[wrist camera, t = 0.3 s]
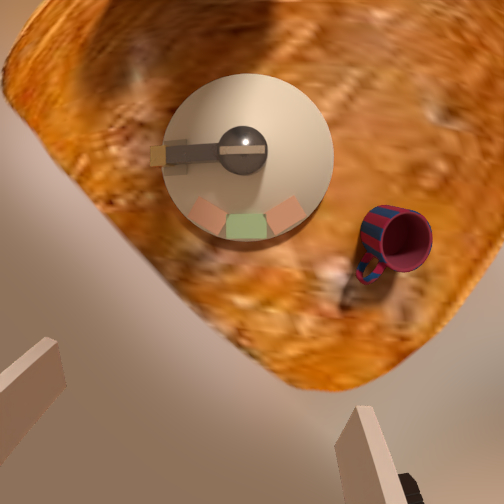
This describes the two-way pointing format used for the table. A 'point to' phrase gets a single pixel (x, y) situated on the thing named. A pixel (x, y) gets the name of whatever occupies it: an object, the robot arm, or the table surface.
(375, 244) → the mug
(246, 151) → the needle
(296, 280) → the table surface
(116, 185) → the table surface
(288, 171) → the dial plate
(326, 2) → the table surface
